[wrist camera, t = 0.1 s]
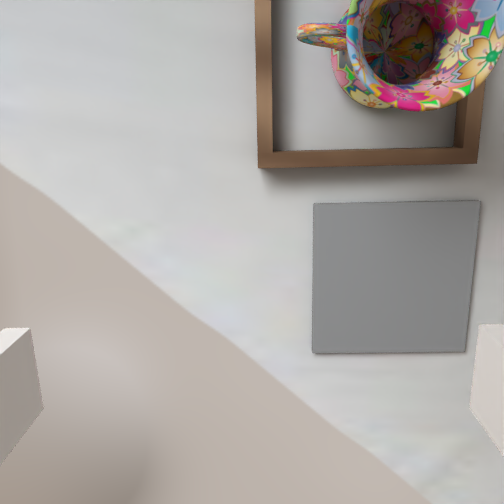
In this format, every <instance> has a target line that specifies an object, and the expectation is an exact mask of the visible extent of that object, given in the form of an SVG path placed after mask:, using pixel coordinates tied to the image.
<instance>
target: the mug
mask: <svg viewBox="0 0 504 504" xmlns="http://www.w3.org/2000/svg"><path fill="white" fill-rule="evenodd" d="M331 36H333V37H331ZM297 39H298V40H299V41H301V42H303V43H307V44H310V45H315V46H321V47H328V48H331V62H332V67H333V71H334V74H335V77H336V79H337V81H338V83H339V84H340V86H341V88H342V89H343V90H344V91H345V92H346V93H347V94H348V95H349V96H350V97H351V98H352V99H354V100H355V101H357V102H359V103H360V104H363V105H365V106H368V107H373V108H392V107H396V108H399V109H402V110H408V111H430V110H436V109H440V108H443V107H446V106H449V105H451V104H454V103H456V102H458V101H459V100H461V99H463V98H464V97H466V96H467V95H469V94H470V93H471V92H473V91H474V90H475V89H476V88H477V87H478V86H479V85H480V84H481V83H482V82H483V81H484V80H485V79H486V78H487V76H488V75H489V74H490V72H491V71H492V70H493V68H494V66H495V65H496V63H497V61H498V59H499V57H500V55H501V53H502V50H503V48H504V0H352V1H351V4H350V7H349V9H348V10H347V11H346V13H345V14H344V15H343V17H342V18H341V20H340V22H339V24H336V23H310V24H304V25H301V26H299V27H298V28H297Z"/></svg>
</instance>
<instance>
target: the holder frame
mask: <svg viewBox="0 0 504 504" xmlns="http://www.w3.org/2000/svg"><path fill="white" fill-rule="evenodd" d="M255 43H256V93H257V143H258V168H292V167H338V166H384V165H430V164H476V163H477V158H478V148H479V139H480V129H481V119H482V110H483V100H484V90H485V80H486V79H485V80H484V81H483V82H482V83H481V84H480V85H479V86H478V87H477V88H476V89H475V90H474V91H473V92H471V93H470V94H469V95H467V96H466V97H464V98H463V99H461V100H459V101H458V102H457V111H456V122H455V133H454V144H453V147H433V148H389V149H345V150H301V151H273V132H272V46H271V0H255Z"/></svg>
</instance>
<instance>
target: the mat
mask: <svg viewBox="0 0 504 504" xmlns="http://www.w3.org/2000/svg"><path fill="white" fill-rule="evenodd" d="M480 203H481V201H479V200H468V201H416V202H364V203H314V208H313V296H312V353H386V352H465V343H466V334H467V324H468V315H469V306H470V296H471V287H472V278H473V268H474V259H475V250H476V241H477V231H478V222H479V213H480Z"/></svg>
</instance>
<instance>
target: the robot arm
mask: <svg viewBox="0 0 504 504" xmlns="http://www.w3.org/2000/svg"><path fill="white" fill-rule="evenodd" d="M469 408H470V410H471V411H472V412H473V414H474V415H475V417H476V418H477V420H478V421H479V422H480V424H481V425H482V427H483V428H484V430H485V431H486V432H487V434H488V435H489V437H490V438H491V440H492V441H493V442H494V444H495V445H496V447H497V448H498V450H499V451H500V452H501V454H502V455H503V457H504V324H479V331H478V339H477V347H476V355H475V364H474V372H473V380H472V389H471V397H470V405H469ZM42 410H43V402H42V396H41V390H40V383H39V377H38V371H37V366H36V359H35V354H34V347H33V342H32V336H31V329H30V328H5V329H3V330H2V331H1V332H0V465H1V464H2V463H3V461H4V460H5V459H6V457H7V456H8V454H9V453H10V452H11V451H12V450H13V448H14V447H15V446H16V444H17V443H18V442H19V440H20V439H21V438H22V436H23V435H24V434H25V432H26V431H27V430H28V429H29V427H30V426H31V425H32V423H33V422H34V420H35V419H36V418H37V417H38V415H39V414H40V413H41V411H42Z"/></svg>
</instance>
